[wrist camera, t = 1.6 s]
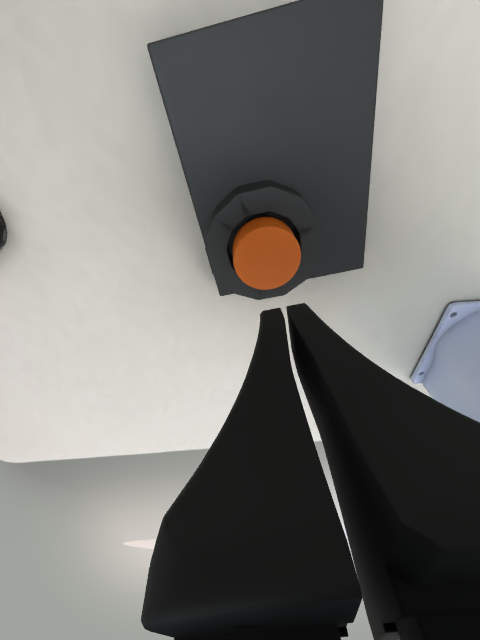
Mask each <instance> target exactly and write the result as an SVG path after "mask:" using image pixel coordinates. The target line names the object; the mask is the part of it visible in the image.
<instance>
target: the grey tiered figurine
mask: <svg viewBox="0 0 480 640" xmlns="http://www.w3.org/2000/svg"><path fill="white" fill-rule="evenodd" d="M6 238H7V231H6V225H5V222H4V220H3V217H2V215H1V213H0V250H1V249H2V248H3V246H4V245H5V243H6Z"/></svg>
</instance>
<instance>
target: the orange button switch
mask: <svg viewBox="0 0 480 640" xmlns="http://www.w3.org/2000/svg"><path fill="white" fill-rule="evenodd" d="M382 12H383V0H298V1H295V2H291V3H288V4H284V5H281V6H278V7H274V8H271V9H267V10H264V11H260V12H257V13H253V14H250V15H246V16H243V17H239V18H236V19H232V20H229V21H225V22H222V23H218V24H215V25H211V26H208V27H204V28H201V29H197V30H194V31H190V32H187V33H183V34H180V35H176V36H173V37H169V38H166V39H162V40H159V41H155V42H152V43H149V44H148V45H147V47H148V51H149V54H150V58H151V61H152V65H153V68H154V71H155V75H156V78H157V82H158V85H159V89H160V92H161V95H162V99H163V102H164V106H165V109H166V113H167V116H168V119H169V123H170V126H171V130H172V133H173V136H174V140H175V143H176V147H177V150H178V154H179V157H180V160H181V164H182V167H183V171H184V174H185V178H186V181H187V184H188V188H189V191H190V195H191V198H192V202H193V205H194V208H195V212H196V215H197V219H198V222H199V226H200V229H201V232H202V236H203V239H204V243H205V247H206V248H205V249H206V253H207V256H208V259H209V263H210V266H211V270H212V273H213V275H214V277H215V280H216V284H217V287H218V291H219V294H220V296H224V295H229V294H238V295H242V296H245V297H249V298H253V299H257V300H258V299H259V300H261V299H266V298H271V297H276V296H281V295H285V294H287V293H288V292H290V291H291V290H292V289H294V288H295V287H297V286H298V285H299V284H301V283H302V282H303V281H305V280H306V279H309V278H315V277H320V276H325V275H330V274H335V273H340V272H345V271H350V270H355V269H360V268H363V263H364V250H365V237H366V224H367V210H368V197H369V184H370V171H371V158H372V144H373V131H374V118H375V105H376V91H377V78H378V65H379V52H380V38H381V25H382ZM259 217H273V218H277V219H279V220H281V221H283V222H284V223H285V224H286V225H287V226H288V227H289V228H290V229H291V231H292V233H293V234H294V236H295V238H296V240H297V241H298V243H299V246H300V250H301V261H300V265H299V267H298V270H297V271H296V273H295V275H294V276H293V277H292V278H291V279H290V280H289V281H288V282H287V283H285V284H284V285H282V286H280V287H277V288H274V289H268V290H262V289H256V288H253V287H250V286H248V285H247V284H245V283H244V282H243V281H242V280H241V279H240V278H239V277H238V275H237V273H236V271H235V268H234V263H233V242H234V239H235V236H236V234H237V233H238V231H239V230H240V228H241V227H242V226H243V225H245V224H246V223H247V222H249V221H251V220H253V219H255V218H259Z"/></svg>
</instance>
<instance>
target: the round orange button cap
mask: <svg viewBox="0 0 480 640" xmlns="http://www.w3.org/2000/svg"><path fill="white" fill-rule="evenodd" d="M300 261H301V250H300V246H299V243H298V241H297V240H296V238H295V236H294V234H293V233H292V231H291V229H290V228H289V227H288V226H287V225H286V224H285V223H284V222H283V221H281V220H279V219H277V218H273V217H259V218H255V219H253V220H251V221H249V222H247V223H246V224H245V225H243V226H242V227H241V228H240V230H239V231H238V233H237V234H236V236H235V239H234V242H233V263H234V268H235V271H236V273H237V275H238V277H239V278H240V279H241V280H242V281H243V282H244V283H245V284H247V285H248V286H250V287H253V288H256V289H262V290H268V289H274V288H277V287H280V286H282V285H284V284H285V283H287V282H288V281H289V280H290V279H291V278H292V277H293V276H294V275H295V273H296V271H297V270H298V267H299V265H300Z"/></svg>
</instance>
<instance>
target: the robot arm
mask: <svg viewBox="0 0 480 640" xmlns="http://www.w3.org/2000/svg"><path fill="white" fill-rule="evenodd" d="M286 307H287V315H288V324H289V332H290V340H291V348H292V353H293V357H294V361H295V365H296V369H297V373H298V376H299V379H300V382H301V384H302V387H303V390H304V392H305V395H306V398H307V401H308V403H309V406H310V409H311V411H312V414H313V417H314V419H315V422H316V425H317V427H318V430H319V433H320V436H321V439H322V442H323V445H324V449H325V453H326V457H327V460H328V464H329V467H330V471H331V475H332V479H333V482H334V486H335V490H336V494H337V498H338V501H339V505H340V509H341V513H342V517H343V520H344V525H345V529H346V533H347V536H348V540H349V544H350V548H351V552H352V556H353V560H354V564H355V567H354V564H353V560H352V557H351V553H350V550H349V546H348V543H347V539H346V536H345V534H344V531H343V528H342V525H341V522H340V519H339V516H338V513H337V510H336V508H335V505H334V502H333V499H332V496H331V493H330V490H329V487H328V484H327V481H326V478H325V475H324V472H323V469H322V466H321V463H320V460H319V457H318V453H317V450H316V447H315V444H314V441H313V438H312V435H311V431H310V428H309V425H308V422H307V419H306V415H305V412H304V409H303V406H302V402H301V399H300V396H299V392H298V389H297V385H296V382H295V379H294V375H293V371H292V367H291V362H290V355H289V347H288V340H287V333H286V326H285V319H284V316H283V313H282V311H281V308H276V309H271V310H265V311H262V313H261V314H260V328H259V334H258V339H257V342H256V346H255V350H254V354H253V357H252V360H251V363H250V366H249V369H248V372H247V375H246V378H245V380H244V383H243V385H242V388H241V390H240V392H239V395H238V397H237V399H236V401H235V403H234V405H233V407H232V409H231V411H230V413H229V415H228V417H227V419H226V421H225V423H224V425H223V427H222V429H221V430H220V432H219V434H218V436H217V437H216V439H215V441H214V442H213V444H212V446H211V447H210V449H209V451H208V452H207V454H206V455H205V457H204V459H203V461H202V462H201V464H200V465H199V467H198V468H197V470H196V471H195V473H194V475H193V476H192V477H191V479H190V480H189V482H188V483H187V484H186V486H185V487H184V489H183V490H182V491H181V493H180V494H179V496H178V497H177V498H176V500H175V502H174V503H173V504H172V506H171V507H170V509H169V510H168V511H167V513H166V514H165V516H164V517H163V520H162V523H161V526H160V530H159V533H158V537H157V540H156V544H155V548H154V552H153V555H152V559H151V563H150V568H149V574H148V579H147V586H146V592H145V598H144V604H143V611H142V616H141V622H142V624H143V626H144V628H145V629H146V630H149V631H151V632H155V633H158V634H162V635H166V636H170V637H174V640H341V639H340V637H348V632H347V628H346V626H347V623H353V622H354V619H355V616H356V614H357V611H358V608H359V606H360V603H361V600H362V598H363V601H364V605H365V609H366V613H367V616H368V620H369V624H370V627H371V631H372V634H373V638H374V640H480V301H471V302H455V303H452V304H450V305H449V306H448V307H447V309H446V311H445V313H444V315H443V317H442V319H441V321H440V323H439V325H438V327H437V329H436V330H435V332H434V334H433V336H432V338H431V340H430V342H429V344H428V346H427V348H426V350H425V352H424V354H423V356H422V358H421V359H420V361H419V363H418V365H417V367H416V369H415V371H414V373H413V375H412V377H411V381H412V382H413V383H422V384H423V385H424V387H425V388H426V389H427V391H428V392H429V393H430V395H431V396H432V398H431V397H429V396H427V395H425V394H423V393H422V392H420V391H418V390H416V389H414V388H412V387H411V386H409V385H407V384H406V383H404V382H402V381H401V380H399V379H397V378H396V377H394V376H393V375H391V374H390V373H388V372H387V371H385V370H384V369H382V368H381V367H379V366H378V365H376V364H375V363H373V362H372V361H371V360H369V359H368V358H366V357H365V356H364V355H362V354H361V353H360V352H358V351H357V350H356V349H354V348H353V347H352V346H351V345H349V344H348V343H347V342H346V341H345V340H343V339H342V338H341V337H340V336H339V335H338V334H336V333H335V332H334V331H333V330H332V329H331V328H330V327H329V326H327V325H326V324H325V323H324V322H323V321H322V320H321V319H320V318H319V317H318V316H317V315H316V314H315V313H314V312H313V311H312V310H311V309H310V308H309V307H308V305H306V304H305V303H302V304H297V305H292V306H286ZM355 568H356V571H355ZM356 572H357V574H356ZM357 576H358V577H357ZM358 580H359V581H358Z"/></svg>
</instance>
